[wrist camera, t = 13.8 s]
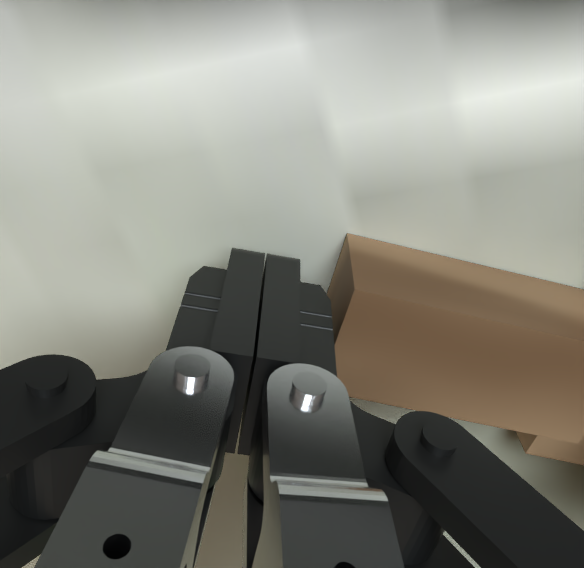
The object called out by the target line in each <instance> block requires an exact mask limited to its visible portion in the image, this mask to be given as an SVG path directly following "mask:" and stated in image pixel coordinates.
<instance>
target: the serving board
mask: <svg viewBox="0 0 584 568" xmlns="http://www.w3.org/2000/svg"><path fill="white" fill-rule="evenodd" d="M327 296H328V297H329V299H330V300H331V310H332V322H333V334H334V346H335V358H336V370H337V378H338V379H339V380H340V381H341V382H342V383H343V384H344V386H345V388H346V389H347V392H348V395H349V397H353V398H358V399H363V400H368V401H372V402H377V403H382V404H387V405H392V406H397V407H402V408H406V409H411V410H416V411H427V412H433V413H437V414H440V415H443V416H445V417H450V418H455V419H460V420H465V421H470V422H474V423H479V424H484V425H489V426H494V427H499V428H504V429H508V430H513V431H516V432H517V435H518V437H519V439H520V442H521V444H522V446H523V449H524V451H525V453H526V454H531V455H536V456H541V457H546V458H551V459H556V460H561V461H566V462H571V463H576V464H581V465H584V289H580V288H575V287H571V286H567V285H563V284H558V283H554V282H550V281H546V280H542V279H537V278H533V277H529V276H525V275H521V274H516V273H512V272H508V271H504V270H500V269H495V268H491V267H487V266H483V265H479V264H474V263H470V262H466V261H462V260H457V259H453V258H449V257H445V256H441V255H436V254H432V253H428V252H424V251H420V250H415V249H411V248H407V247H403V246H399V245H394V244H390V243H386V242H382V241H377V240H373V239H369V238H365V237H361V236H356V235H352V234H348V233H347V235H346V238H345V241H344V244H343V247H342V250H341V253H340V256H339V259H338V262H337V265H336V268H335V271H334V274H333V277H332V280H331V283H330V286H329V289H328V292H327Z"/></svg>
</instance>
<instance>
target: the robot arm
mask: <svg viewBox="0 0 584 568" xmlns="http://www.w3.org/2000/svg"><path fill="white" fill-rule="evenodd" d="M264 258H265V253H259V252H253V251H247V250H242V249H236V248H232V250H231V255H230V259H229V264H228V268H227V270H225V269H219V268H213V267H207V266H203V267H202V268H201V269H200V270H198V271H197V272H196V273H194V274H193V275H192V276H191V277H190V278H189V281H188V284H187V288H186V291H185V295H184V297H183V300H182V303H181V307H180V309H179V312H178V315H177V318H176V321H175V324H174V327H173V330H172V333H171V336H170V339H169V342H168V345H167V348H166V351H165V352H163V353H161V354H160V355H158V356H157V357H156V358H155V359H154V360H153V361H152V363H151V364H150V366H149V368H148V370H147V371H145V372H143V373H140V374H137V375H134V376H129V377H123V378H114V379H102V380H96V378H95V374H94V373H93V371H92V369H91V368H90V367H89V366H88V365H87V364H85V363H84V362H82V361H80V360H78V359H76V358H72V357H69V356H64V355H42V356H36V357H32V358H28V359H26V360H23V361H20V362H18V363H16V364H13V365H11V366H8V367H6V368H4V369H1V370H0V568H21V567H23V566H24V565H26V564H27V563H29V562H30V561H31V560H33V559H34V558H36V557H37V556H39V555H40V554H41V553H42V554H41V556H40V557H39V559H38V561H37V563H36V565H35V567H34V568H195V567H196V563H197V559H198V555H199V551H200V547H201V543H202V539H203V535H204V531H205V527H206V523H207V519H208V515H209V511H210V507H211V503H212V499H213V495H214V491H215V485H216V482H217V480H218V479H219V477H220V475H221V472H222V467H223V461H224V456H225V452H227V453H235V448H236V443H237V438H238V432H239V427H240V422H241V417H242V422H241V430H240V438H239V447H238V454H243V455H250V456H249V466H248V474H247V478H246V483H245V487H244V494H243V556H242V568H475V567H474V566H473V565H472V564H471V563H470V562H469V561H468V560H467V559H466V558H465V557H464V556H463V555H462V554H461V553H460V552H459V551H458V550H457V549H456V548H455V547H454V546H453V545H452V544H451V543H450V542H449V540H448V539H447V538H446V537H445V536H444V535H443V532H444V531H446V532H447V533H448V534H449V535H450V536H451V537H452V538H453V539H454V540H455V541H456V542H457V543H458V544H459V545H460V546H461V547H462V548H463V549H464V550H465V551H466V552H467V553H468V554H469V555H470V556H471V558H472V559H473V560H474V561H475V562H476V563H477V564H478V565H479V566H480V567H481V568H584V531H583V530H582V529H581V528H580V527H578V526H577V525H576V524H575V523H574V522H573V521H571V520H570V519H569V518H568V517H567V516H566V515H564V514H563V513H562V512H561V511H560V510H559V509H557V508H556V507H555V506H554V505H553V504H552V503H550V502H549V501H548V500H547V499H546V498H545V497H543V496H542V495H541V494H540V493H539V492H538V491H536V490H535V489H534V488H533V487H532V486H531V485H529V484H528V483H527V482H526V481H525V480H524V479H522V478H521V477H520V476H519V475H518V474H517V473H515V472H514V471H513V470H512V469H511V468H510V467H508V466H507V465H506V464H505V463H504V462H503V461H501V460H500V459H499V458H498V457H497V456H496V455H494V454H493V453H492V452H491V451H490V450H489V449H487V448H486V447H485V446H484V445H483V444H482V443H480V442H479V441H478V440H477V439H476V438H475V437H474V436H472V435H471V434H470V433H469V432H468V431H467V430H465V429H464V428H463V427H462V426H460V425H459V424H458V423H456V422H455V421H453V420H451V419H449V418H447V417H445V416H443V415H440V414H437V413H433V412H427V411H415V412H410V413H407V414H405V415H404V416H402V417H401V418H400V419H399V420H398V421H397V423H396V424H393V423H391V422H388V421H386V420H383V419H381V418H378V417H376V416H373V415H371V414H369V413H367V412H365V411H363V410H362V409H360V408H358V407H357V406H356V405H354V404H353V403H352V402H351V401H350V400H349V395H348V392H347V389H346V388H345V386H344V384H343V383H342V382H341V381H340V380H339V379H338V378H337V370H336V358H335V346H334V334H333V322H332V310H331V300H330V299H329V297H328V296H327V294H326V293H325V292H324V290H323V289H322V287H321V286H320V285H315V284H309V283H303V282H300V259H295V258H289V257H283V256H277V255H271V254H267V257H266V262H265V267H264V272H263V266H264ZM262 275H263V277H262ZM242 412H243V414H242Z"/></svg>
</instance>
